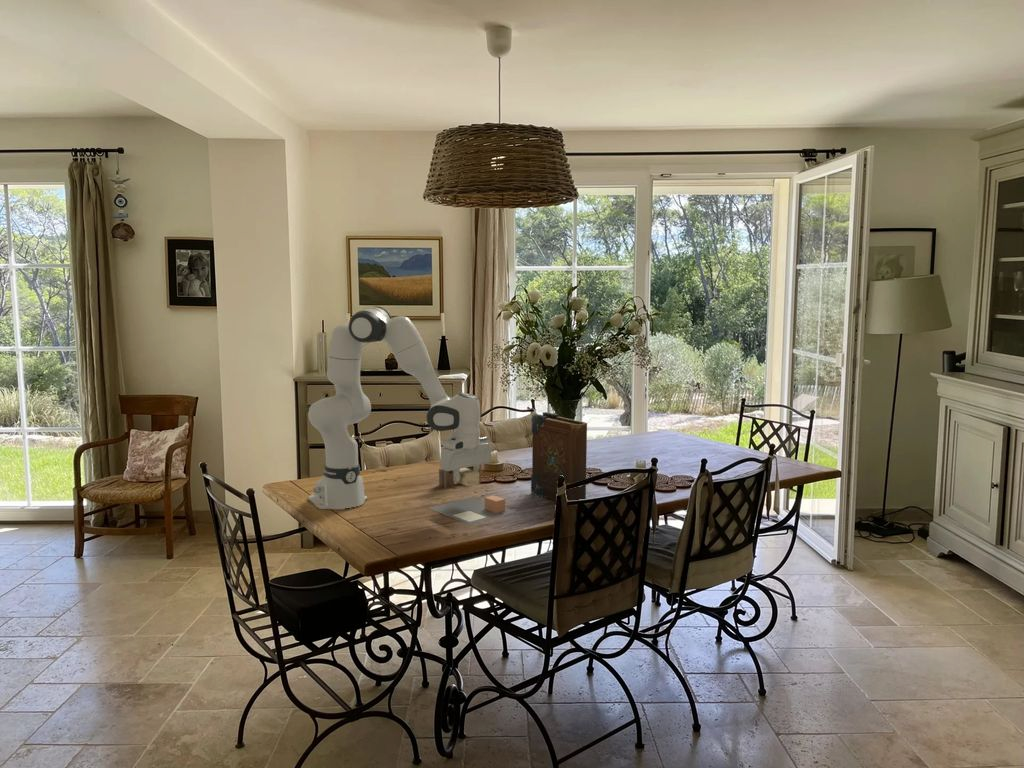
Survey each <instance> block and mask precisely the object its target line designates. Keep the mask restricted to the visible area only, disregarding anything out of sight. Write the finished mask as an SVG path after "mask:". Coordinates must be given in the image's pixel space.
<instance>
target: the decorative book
mask: <svg viewBox="0 0 1024 768" xmlns="http://www.w3.org/2000/svg"><path fill="white" fill-rule="evenodd" d="M530 426H531V427H530V428H531V432H530V433H531V434H532V445H531V446H532V449H531V450H532V452H531V454H532V457H531V458H532V459H531V463H532V465H531V467H532V468H531V472H532V473H531V475H530V494H531V495H535V496H538V497H540V496H541V497H540V498H548V499H551V500H554V501H556V500H555V499H556V494H557V478H558V477H559V476H560V475H563V476H564V479H565V483H566V484H567V483H573V482H577V481H581V480H584V479H586V480H587V456H588V455H587V450H588V449H587V447H588V446H587V444H588V441H587V439H588V422H586V421H581V420H576V419H572V418H566V417H562V416H559V414H556V413H552V412H548V411H544V412H542V414H539V413H532V414H531V425H530ZM586 494H587V484H586V485H583V486H581V487H576V488H572V489H567V490H566V495H567V499H568V500H579V499H587V498H586Z"/></svg>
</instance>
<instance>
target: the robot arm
mask: <svg viewBox="0 0 1024 768" xmlns="http://www.w3.org/2000/svg"><path fill="white" fill-rule="evenodd" d="M381 341H384V342H386V343H387V345H388V346H389V348H390V350H391V352H392V354H393V356H394V358H395V361H396V362H397V364H398V365H399V367H400V368H401V369H402V370H403V372H405V373H406V374H409V375H411V376H413V377H414V378H416V379H417V381H419V383H420V385H421V387H422V388H423V390H424V393H425V394H426V396H427V397H428V400H429V402H430V408H429V409H428V411H427V413H426V422H427V425H428V426H429V427H430V428H431V429H432V430H434V431H437V432H445V431H453V433H454V434H452V435H450V436H449V437H447V438H445V439H443V440H442V441H441V447H443V448H442V449H441V451H440V457H439V458H440V469H443V470H445V471H452V470H453V472H454V474H455V475H456V481H462V476H461V475H460V474H459V472H460V469H462V468H466V467H471V466H473V467H474V468H473V471H476V472H478V470H479V468H480V465H481V466H482V465H485V464H490V463H491V462H492V448H491V440H490V438H488V437H487V436H485V437H481V436H480V435H481V430H480V422H481V407H480V406H481V404H480V400H479V398H478V397H477V396H476V395H474V394H471V393H467V392H458V393H457V394H456V395H454V396H452V397H451V396H450V395H449V394H448V393H447V392H446V390H445V387H444V386H443V384H442V382H441V380H440V378H439V376H438V375H437V373H436V370H435V368H434V366H433V363H432V361H431V360H432V359H431V357H430V355H429V352H428V348H427V346H426V344H425V342H424V340H423V338H422V336H421V334H420V333H419V331H418V329H417V327H416V326H415V325H414V323H413V322H412V321H411V319H410V318H409V317H407V316H404V315H399V316H394V317H392V315H391V313H390V312H389V311H388V310H387V309H385V308H384V307H382V306H376V305H375V306H371V307H366V308H363V309H362V310H360V311H357V312H356V313H354V314H353V315H352V316H351V318H350V320H349V322H348V323H344V324H338V325H337V326H336V327H334V328H333V331H332V334H331V337H330V340H329V346H328V355H327V370H326V377H327V379H328V381H329V382H330V383H331V384H333V385H334V389H335V395H332V396H327V397H323V398H321V399H319V400H317V401H315V402H313V403H312V404H311V405H310V406H309V408H308V413H307V415H308V420H309V422H310V424H311V426H312V427H314V428H315V429H316V430H317V431H318V432H319V433H320V435H321V437H322V439H323V443H324V449H325V451H324V452H325V465H323V476H322V477H321V478H319V479H318V481H317V482H315V484H314V487H313V494H310V495H309V496H308V498H307V499H308V500H309V501H310V502H311V503H312V504H313V505H314V506H315V505H316V506H317V507H318V508H319V509H318V508H317V507H316V506H315V507H316V508H317V509H318V510H344V509H343V508H350V509H352V508H351V507H355V508H357V507H356V506H358V507H360V506H359V505H361V506H362V504H363V503H365V501H367V500H368V496H367V495H365V489H364V478H363V477H362V476H360V474H361V467H360V464H359V448H358V447H359V445H358V442H357V440H356V439H354V438H353V437H351V436H350V433H349V430H348V426H349V425H353V424H358V423H360V422H361V421H363V420H365V419H367V418H368V417H369V416H370V414H371V411H372V404H371V401H370V400H371V399H369V397H368V396H367V395H366V394H365V393H364V391H363V388H362V384H361V367H362V366H361V365H362V364H361V363H362V349H363V345H364V343H367V344H369V343H375V342H381ZM366 499H367V500H366ZM363 505H364V504H363Z"/></svg>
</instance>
